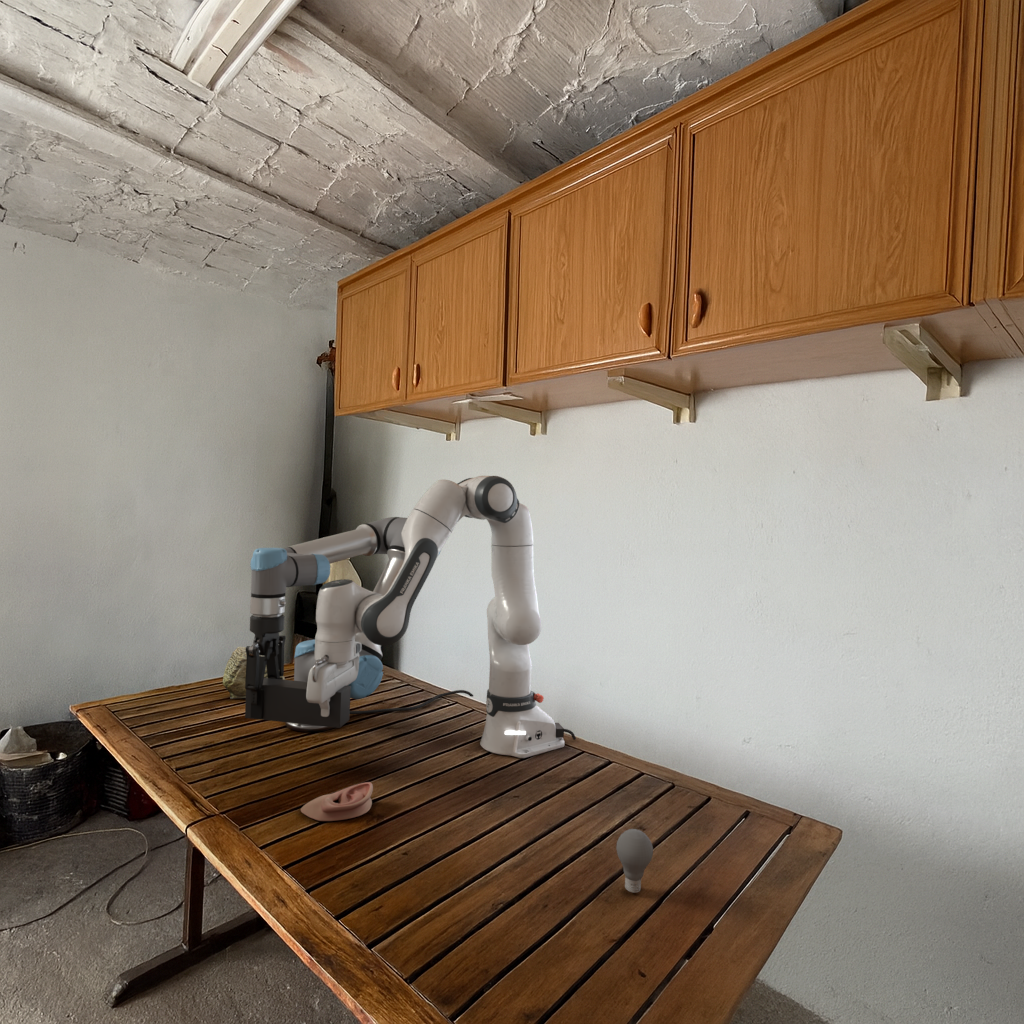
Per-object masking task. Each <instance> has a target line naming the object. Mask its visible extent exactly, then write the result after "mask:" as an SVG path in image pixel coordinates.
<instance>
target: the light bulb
mask: <svg viewBox="0 0 1024 1024" xmlns="http://www.w3.org/2000/svg"><path fill="white" fill-rule="evenodd" d="M615 849H616V854H617V857H618V859H619V861H620V863H621V865H622V867H623V873H624V874H623V875H624V876H625V878H624V888H625V890H627V891H628V892H630V893H634V894H635V893H639V892H640V891H641V889H642V887H641V886H642V879H643V877H644V875H645V871H646V868H647V867H648V866H649V864H650V863H651V861H652V859H653V855H654V847H653V843H652V841H651V838H649V836H648V835H647V834H646V833H645V832H643V831H642V830H641V829H636V828H629V829H627V830H625V831H623V832H622V833H621V834H620V835H619V837H618V839H617V841H616V847H615Z"/></svg>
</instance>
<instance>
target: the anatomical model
mask: <svg viewBox="0 0 1024 1024" xmlns="http://www.w3.org/2000/svg"><path fill="white" fill-rule="evenodd" d="M373 791H374V784H373V783H372V782H370V781H366V782H361V783H357V784H354V785H351V786H348V787H346V788H343V789H340V790H338V791H335V792H332V793H329V794H328V793H327V794H324V795H321V796H318V797H316V798H314V799H311V800H310V801H308V802H307V803H305V804H304V805H303V806H302V807H301V808H300V812H301V813H302V814H303V815H304V816H307V817H308V818H310V819H312V820H315V821H317V822H333V821H335V822H336V821H344V820H348V819H354V818H356V817H360V816H362V815H365V814H366V813H368V812H369V811H370V809H371V808H372V805H373V800H372V798H371V797H372V795H373Z"/></svg>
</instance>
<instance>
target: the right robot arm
mask: <svg viewBox="0 0 1024 1024" xmlns="http://www.w3.org/2000/svg"><path fill="white" fill-rule="evenodd" d="M464 517H465V518H470V519H474V520H475V519H476V520H482V521H485V520H486V521H487V522H488V525H489V527H490V532H491V536H490V537H491V539H490V540H491V542H490V543H491V546H490V549H491V553H490V554H491V556H490V557H491V559H490V561H491V563H490V564H491V565H490V566H491V569H490V570H491V578H492V582H493V589H494V597H493V598H492V599H490V601H489V602H488V604H487V607H486V618H487V641H488V653H489V672H488V673H489V674H488V676H489V677H488V689H487V691H486V701H485V712H486V717H485V723H484V728H483V732H482V734H481V735H482V736H481V738H480V741H479V745H480V747H481V748H482V749H484V750H486V751H487V752H490V753H493V754H497V755H503V756H512V757H515V758H519V759H526V758H529V757H533V756H536V755H540V754H544V753H547V752H550V751H554V750H558V749H561V748H564V747H565V746H566V745H565V740H564V737H565V733H568V734H569V735H571V738H572V740H573V741H575V740H576V739H577V738H576V736H575V733H574V732H573V731H572V730H570V729H567V728H564V727H563V726H562V724H560V722H555V719H553V717H552V716H551V715H549V714H548V713H547V712H546V711H544V710H543V709H542V708H541V707H540V706H538V705H537V703H538V704H541V703H543V701H544V699H545V698H544V695H543V694H540V693H536V692H535V691H532V667H533V661H532V658H531V653H530V646H529V644H532V643H533V642H535V641H536V640H537V639H538V638H539V637H540V635H541V632H542V628H543V622H542V618H541V615H540V608H539V599H538V594H537V593H538V592H537V588H536V582H535V581H536V579H535V571H534V570H535V568H534V564H535V563H534V529H533V521H532V516H531V512H530V509H529V508H528V507H527V506H526V505H525V504H523V503H520V501H519V499H518V496H517V491H516V489H515V488H514V486H513V484H512V483H511V482H510V481H509V480H508V479H506V478H504V477H502V476H500V475H499V476H498V475H478V476H475V477H468V478H465V479H463V480H461V481H459V482H458V483H456V482H455V481H452V480H449V479H439V480H436V481H435V482H434V483H433V484H431V486H430V487H429V488H428V489H426V491H425V492H424V494H423V495H422V496H421V497H420V499H418V501H417V503H416V504H415V505H414V507H413V509H412V510H411V511H410V513H409V515H407V517H406V518H407V520H406V522H405V525H404V527H403V530H402V532H401V536H402V541H403V544H404V547H405V559H404V563H403V565H402V567H401V569H400V570H399V572H398V574H397V576H396V578H395V580H394V581H393V583H392V585H391V587H390V589H389V590H388V592H387V593H386V594H385V595H381V594H379V593H376V592H373V591H372V590H369V589H367V588H365V587H363V586H361V585H359V584H358V583H356V582H355V581H353V580H352V579H348V578H347V579H345V578H344V579H334V580H331V581H328V582H326V583H323V585H322V586H321V587H320V588H319V591H318V594H317V600H316V607H315V608H316V609H315V622H316V628H317V629H316V633H315V637H314V640H315V656H314V658H315V660H316V662H315V665H314V666H313V667H312V668H311V669H310V671H309V675H308V682H307V692H306V699H307V701H308V702H309V703H318V704H319V705H320V708H321V716H323V717H328V716H329V715H330V714H331V707H330V706H329V702H330V697H332V696H333V695H335V693H336V692H337V691H338V690H339V689H341V688H342V687H344V686H345V685H346V686H348V685H349V684H350V683H352V682H353V681H355V680H356V678H357V675H358V670H359V652H360V651H361V647H362V644H361V643H360V642H356V641H355V635H356V634H357V633H364V634H365V636H366V637H367V638H368V639H369V640H370V641H371V642H372V643H374V644H377V645H381V647H383V646H390V645H393V644H395V643H396V642H398V641H399V640H401V639H402V638H403V636H404V635H405V634H406V633H407V630H408V627H409V623H410V618H411V612H412V609H413V606H414V604H415V602H416V600H417V598H418V596H419V594H420V593H421V590H422V588H423V587H424V585H425V583H426V581H427V579H428V577H429V575H430V574H431V571H432V570H433V567H434V565H435V563H436V560H437V558H438V557H439V555H440V554H439V552H440V551H441V552H442V549H443V547H444V545H445V544H446V542H447V541H448V539H449V538H450V536H451V534H452V533H453V531H454V530H455V528H456V526H457V524H458V523H459V522H460V520H461V519H462V518H464ZM441 552H440V553H441ZM438 554H439V555H438ZM437 556H438V557H437ZM536 702H537V703H536Z"/></svg>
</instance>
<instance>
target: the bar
mask: <svg viewBox="0 0 1024 1024" xmlns="http://www.w3.org/2000/svg"><path fill="white" fill-rule="evenodd" d="M262 689H264V708H263V718H262V719H259V718H250V717H251V690H247V689H246V698H245V703H244V704H245V707H244V709H245V710H244V718H245V719H249V720H250V719H251V720H259V721H260V720H261V721H269V722H270V721H271V722H277V723H278V722H279V723H286V722H288V723H297V724H307V725H316V726H326V727H335V728H336V729H340V728H342V727H343V726H344V725H345V724H346V723H348V722H349V721H350V715H351V714H350V711H351V698H350V693H351V686H346V685H345V686H344V687H342V688H341V689H339V690H338V691H337V692H336V693H335V695H333V696H332V697H330V702H329V706H330V707H331V714H330V715H329V716H328V717H323V716H321V708H320V705H319V704H318V703H309V702H308V701H307V699H306V692H307V682H304V681H294V679H285V680H283V679H272V678H264V680H263V685H262ZM335 728H334V729H335Z"/></svg>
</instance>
